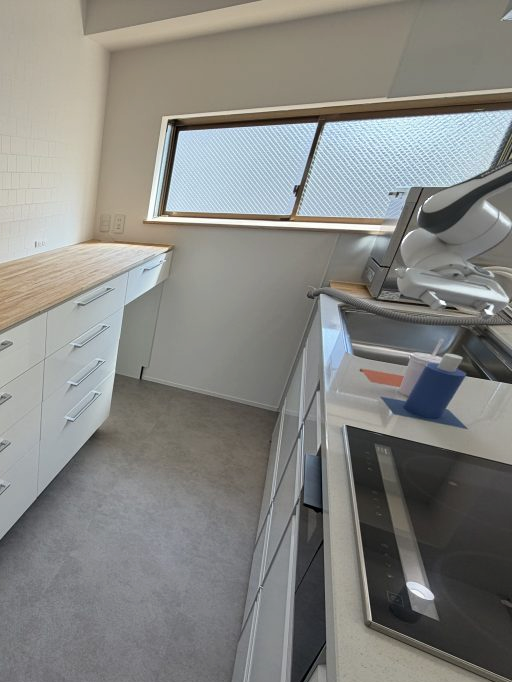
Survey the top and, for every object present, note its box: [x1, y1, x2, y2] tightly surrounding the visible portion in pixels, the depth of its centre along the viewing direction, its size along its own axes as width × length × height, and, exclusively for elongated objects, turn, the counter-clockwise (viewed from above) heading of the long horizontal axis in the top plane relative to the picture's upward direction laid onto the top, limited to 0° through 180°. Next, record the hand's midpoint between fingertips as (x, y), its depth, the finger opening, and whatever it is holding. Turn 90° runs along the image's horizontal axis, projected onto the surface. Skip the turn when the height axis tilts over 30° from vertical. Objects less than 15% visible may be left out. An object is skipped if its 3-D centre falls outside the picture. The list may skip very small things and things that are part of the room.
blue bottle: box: [403, 353, 467, 419], centre depth 85 cm, size 6×6×13 cm
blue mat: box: [380, 395, 469, 430], centre depth 89 cm, size 12×9×1 cm
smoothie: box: [398, 338, 445, 397], centre depth 93 cm, size 6×6×14 cm
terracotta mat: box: [359, 368, 404, 388], centre depth 103 cm, size 13×9×1 cm
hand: (463, 313), depth 90 cm, fingers open, 8 cm apart
